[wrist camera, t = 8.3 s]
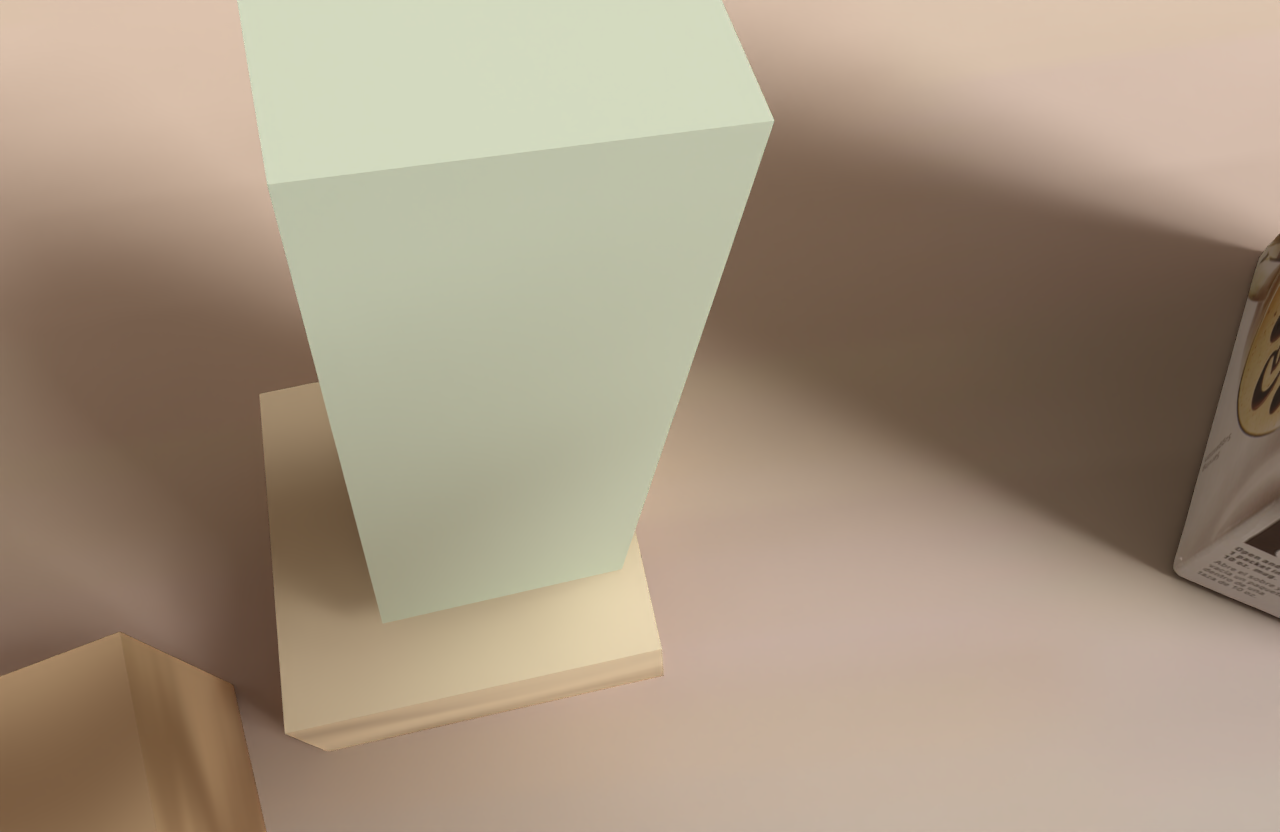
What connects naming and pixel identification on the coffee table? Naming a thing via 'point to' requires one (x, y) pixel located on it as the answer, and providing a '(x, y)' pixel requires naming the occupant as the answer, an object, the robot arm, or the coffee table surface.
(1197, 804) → the coffee table surface
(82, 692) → the oak cube
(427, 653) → the maple slab
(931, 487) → the coffee table surface
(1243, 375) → the coffee box
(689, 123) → the sage block
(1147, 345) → the coffee table surface
